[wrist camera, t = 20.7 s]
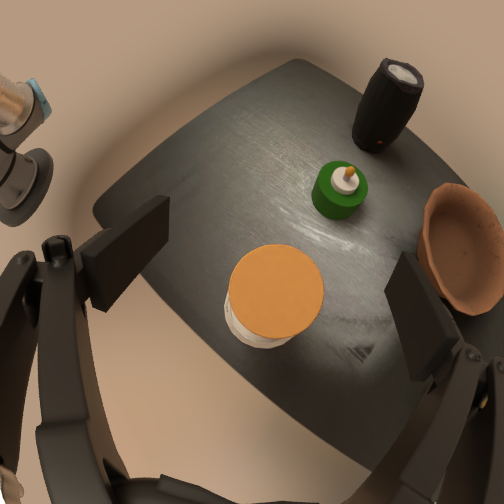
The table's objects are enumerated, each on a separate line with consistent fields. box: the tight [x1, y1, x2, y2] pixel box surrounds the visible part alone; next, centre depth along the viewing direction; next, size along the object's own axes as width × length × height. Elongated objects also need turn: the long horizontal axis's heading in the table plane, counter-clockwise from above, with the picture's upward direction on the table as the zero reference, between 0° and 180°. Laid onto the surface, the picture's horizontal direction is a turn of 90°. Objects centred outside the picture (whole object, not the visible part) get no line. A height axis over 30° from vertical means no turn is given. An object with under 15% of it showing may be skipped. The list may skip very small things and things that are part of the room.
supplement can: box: [224, 291, 294, 348], centre depth 33 cm, size 8×8×15 cm
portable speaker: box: [352, 58, 424, 153], centre depth 40 cm, size 9×9×20 cm
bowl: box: [417, 183, 504, 316], centre depth 37 cm, size 22×22×11 cm
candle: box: [312, 161, 368, 220], centre depth 41 cm, size 8×8×10 cm
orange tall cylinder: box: [229, 244, 324, 339], centre depth 20 cm, size 5×5×13 cm
